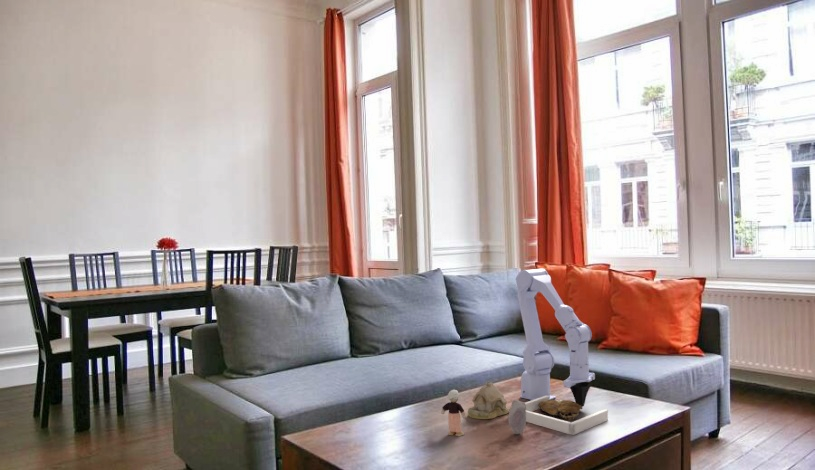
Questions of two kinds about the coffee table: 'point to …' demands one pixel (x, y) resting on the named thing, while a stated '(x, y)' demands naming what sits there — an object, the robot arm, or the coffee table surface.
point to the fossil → (517, 416)
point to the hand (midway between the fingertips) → (580, 405)
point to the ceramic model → (488, 403)
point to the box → (561, 424)
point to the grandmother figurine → (454, 413)
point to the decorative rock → (561, 408)
